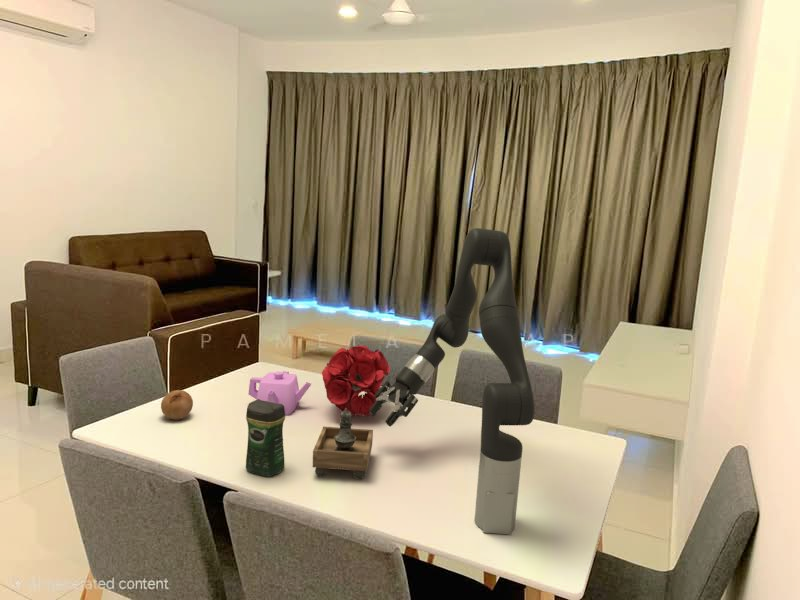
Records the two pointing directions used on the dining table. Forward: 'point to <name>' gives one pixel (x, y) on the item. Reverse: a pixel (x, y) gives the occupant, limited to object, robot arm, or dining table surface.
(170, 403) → the onion
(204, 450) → the dining table surface
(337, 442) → the grey stone tiered cylinder
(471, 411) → the dining table surface
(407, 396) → the robot arm
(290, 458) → the dining table surface
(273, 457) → the coffee jar
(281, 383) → the teakettle
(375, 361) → the bouquet
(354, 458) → the wooden serving tray
